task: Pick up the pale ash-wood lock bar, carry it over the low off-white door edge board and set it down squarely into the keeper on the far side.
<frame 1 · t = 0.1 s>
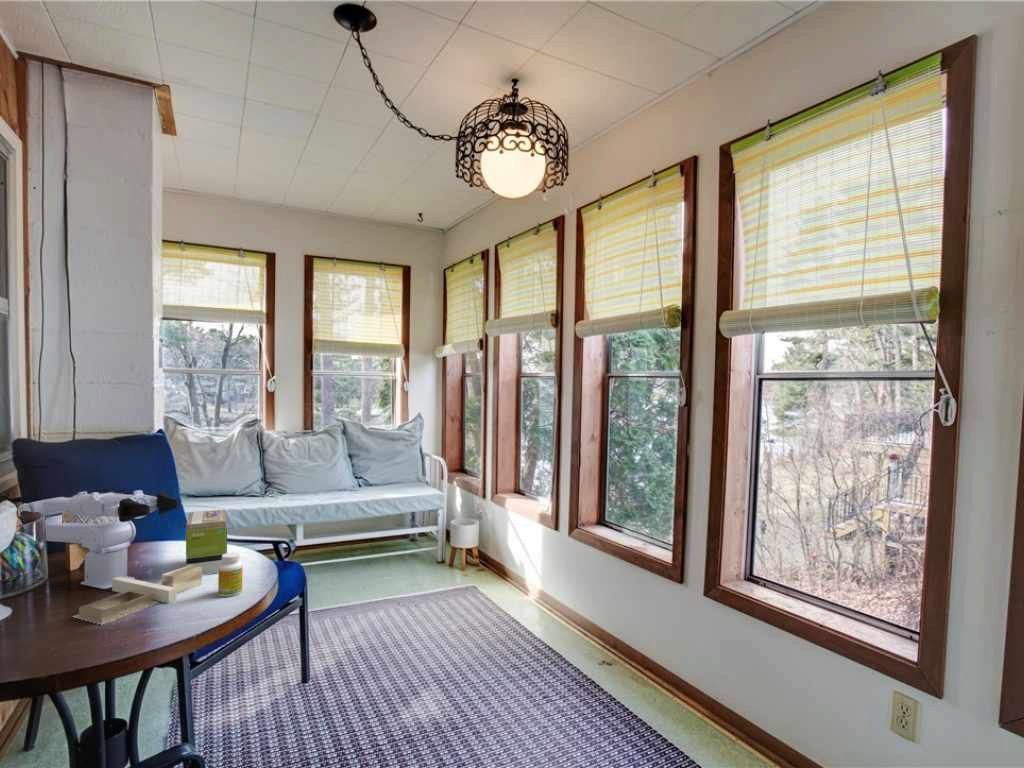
hand: (163, 507, 140), 22 cm above the table, tool horizontal, fingers open, 7 cm apart
supplement bottle: (230, 594, 141), on the table
tea box: (207, 567, 161), on the table
keeper: (116, 610, 130), on the table
lock bar: (182, 590, 143), on the table
door edge board: (143, 595, 139), on the table
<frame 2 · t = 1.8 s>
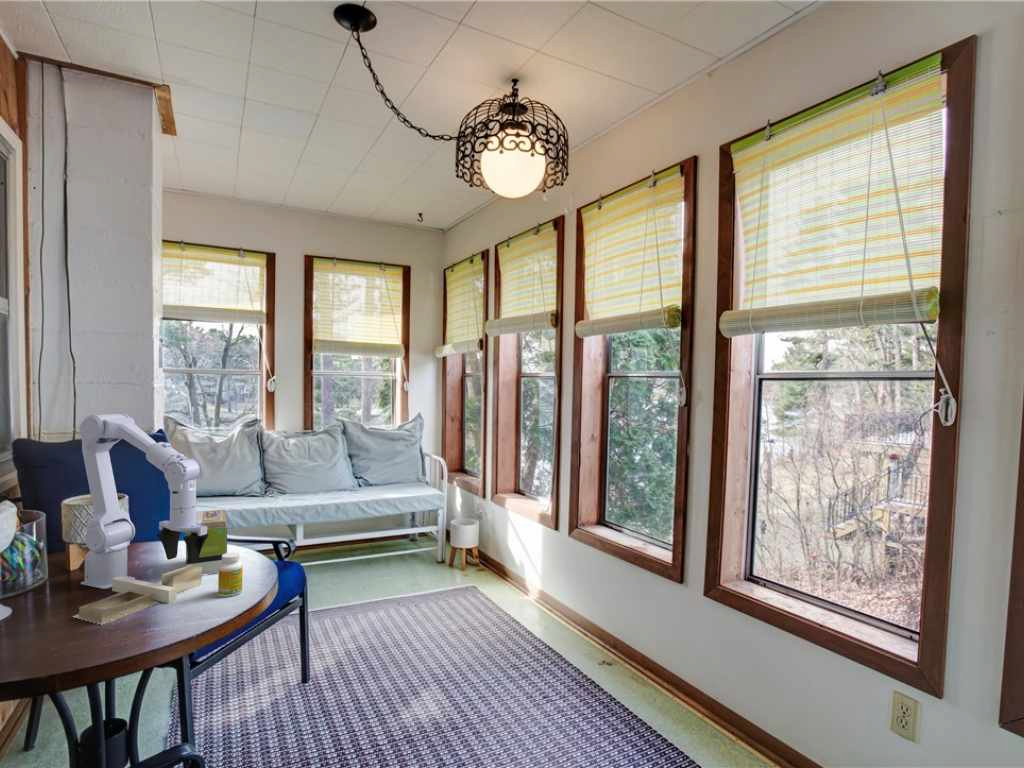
hand: (182, 560, 143), 7 cm above the table, tool pointing down, fingers open, 7 cm apart
nothing on the table moved.
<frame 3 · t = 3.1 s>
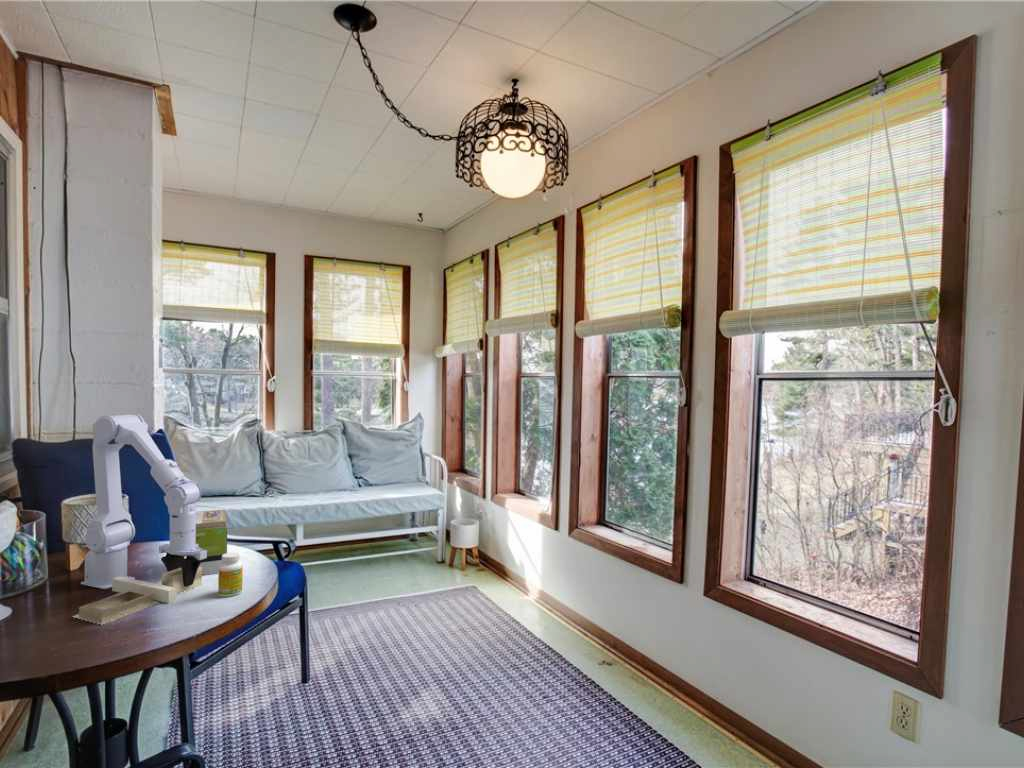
hand: (182, 584, 143), 1 cm above the table, tool pointing down, fingers closed on lock bar, 4 cm apart
lock bar: (182, 589, 143), on the table, touching gripper
everything else where it was.
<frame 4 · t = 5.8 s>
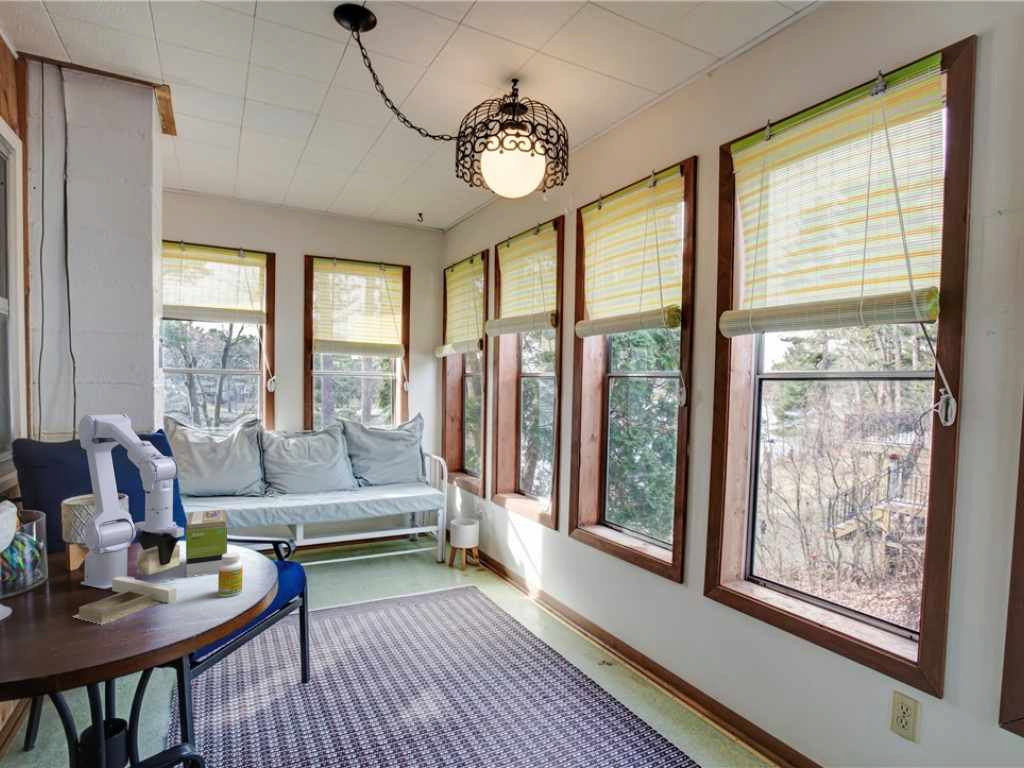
hand: (158, 563, 138), 8 cm above the table, tool pointing down, fingers closed on lock bar, 4 cm apart
lock bar: (158, 568, 138), point 7 cm above the table, touching gripper
everything else where it was.
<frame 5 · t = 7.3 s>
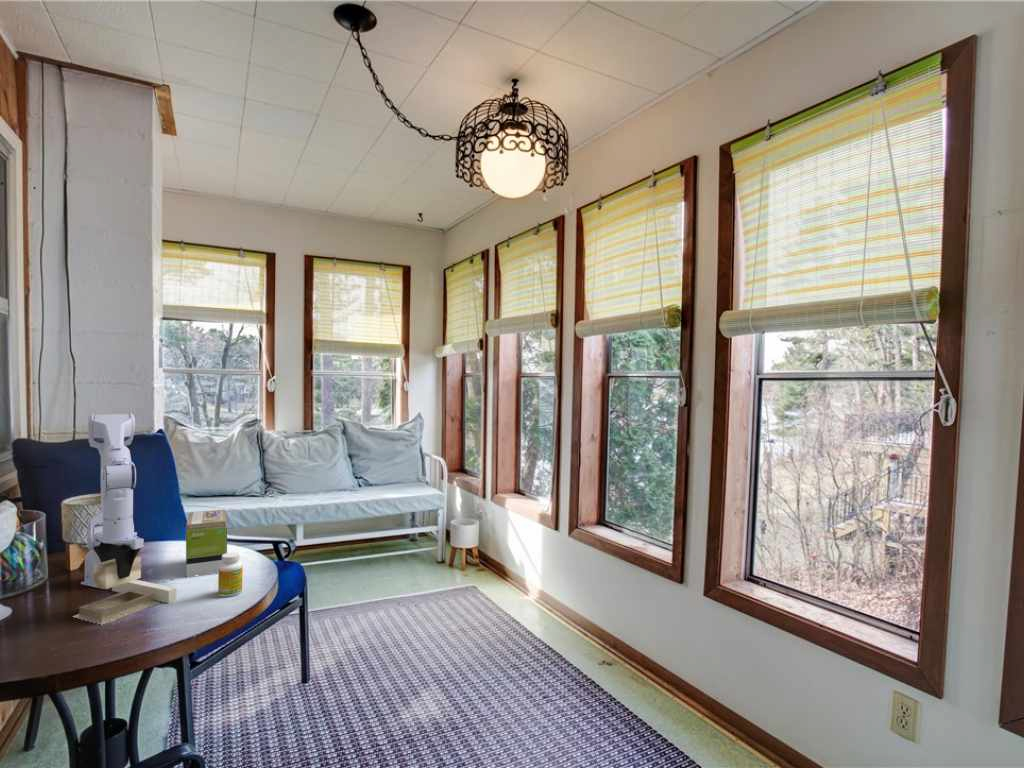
hand: (117, 576, 130), 8 cm above the table, tool pointing down, fingers closed on lock bar, 4 cm apart
lock bar: (117, 582, 130), point 6 cm above the table, touching gripper
everything else where it was.
when the fingers open (3 cm above the table, at t = 8.6 s): lock bar drops 2 cm, resting on keeper.
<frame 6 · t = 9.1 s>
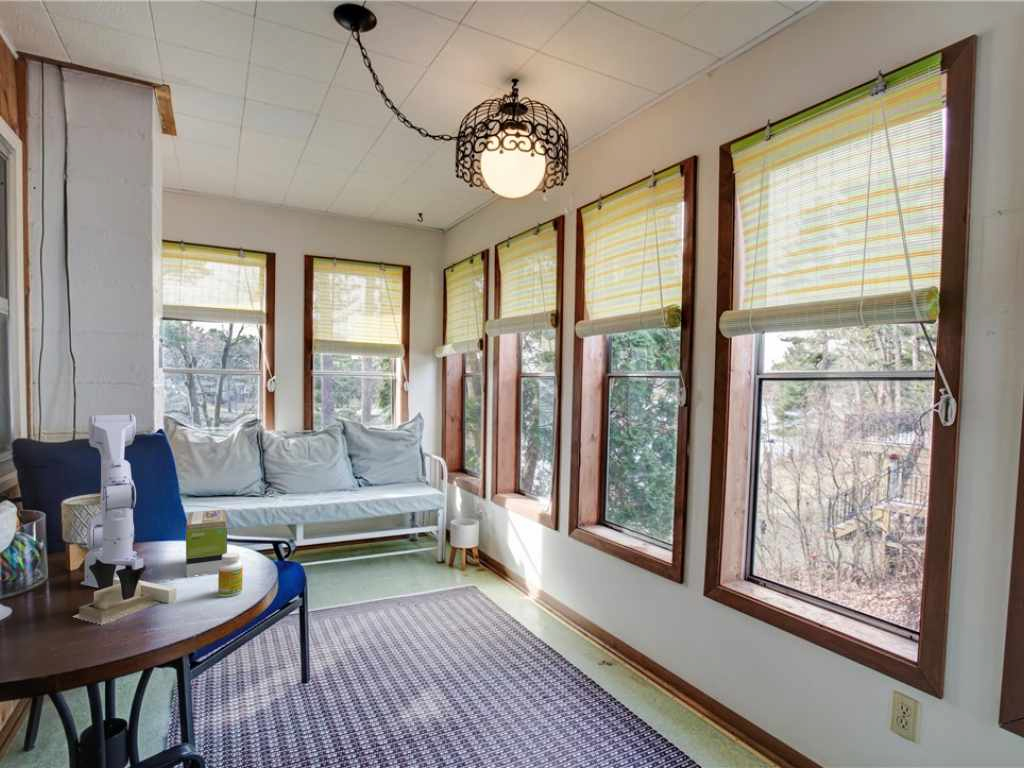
hand: (117, 595, 130), 3 cm above the table, tool pointing down, fingers open, 7 cm apart
lock bar: (117, 608, 130), resting on keeper
everything else where it was.
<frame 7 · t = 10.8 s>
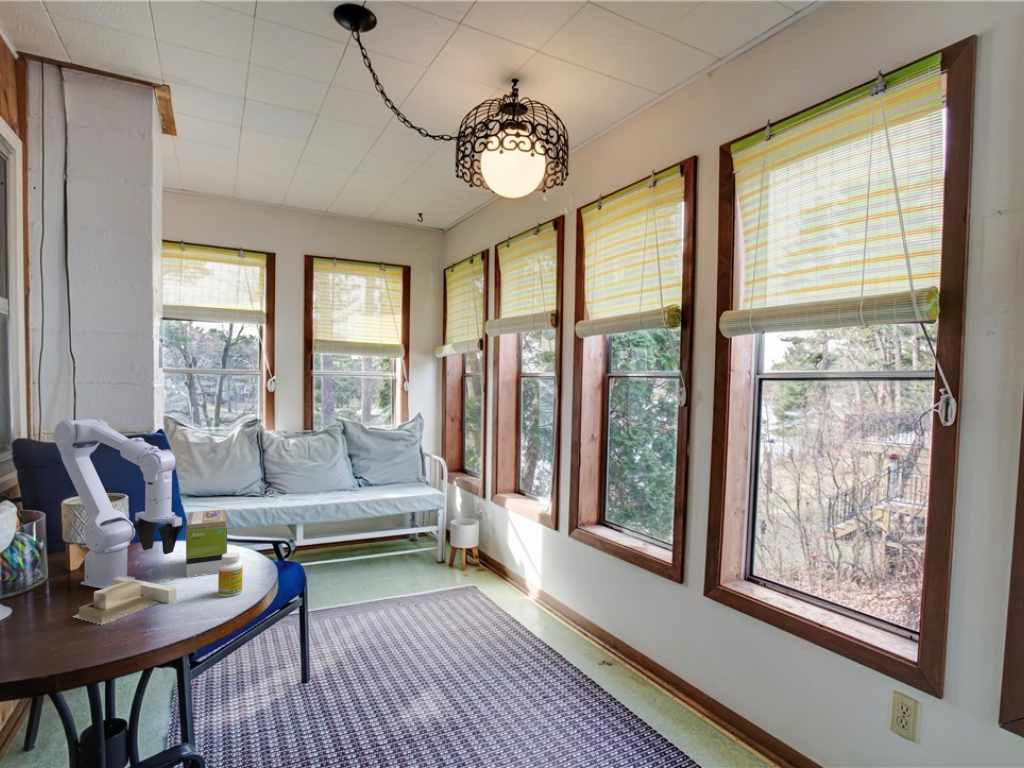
hand: (157, 551, 144), 9 cm above the table, tool pointing down, fingers open, 7 cm apart
nothing on the table moved.
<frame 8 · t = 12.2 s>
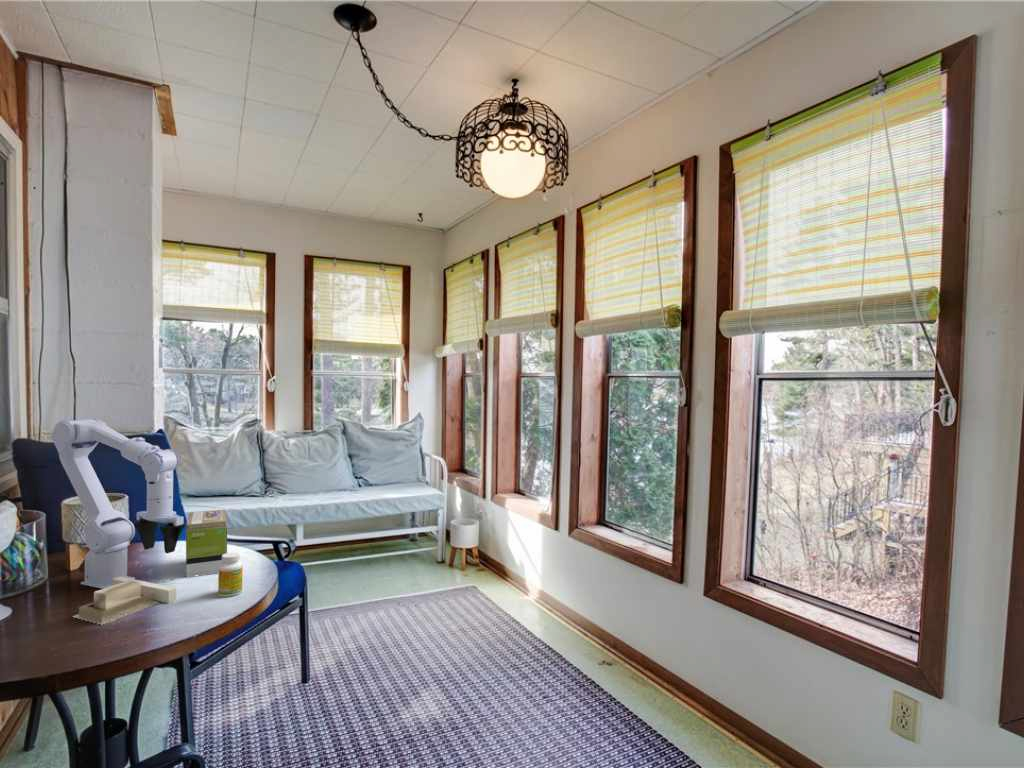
hand: (159, 550, 145), 9 cm above the table, tool pointing down, fingers open, 7 cm apart
nothing on the table moved.
at the end: lock bar 0.2 cm off-centre on the keeper, point 0.3 cm above the keeper's base; lock bar tilted 0°; the gripper is holding nothing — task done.
